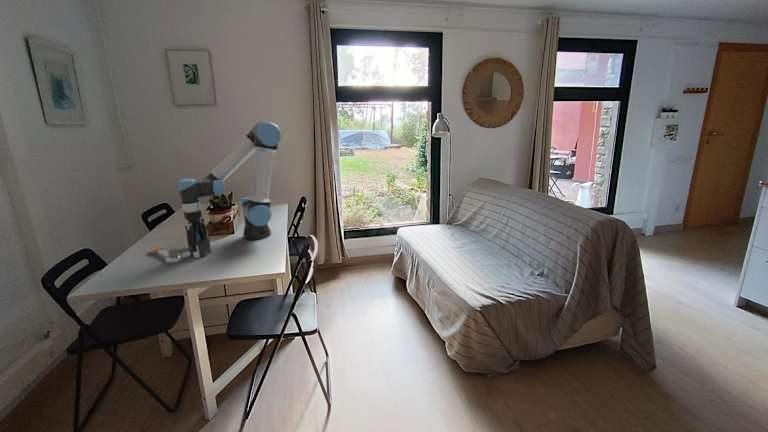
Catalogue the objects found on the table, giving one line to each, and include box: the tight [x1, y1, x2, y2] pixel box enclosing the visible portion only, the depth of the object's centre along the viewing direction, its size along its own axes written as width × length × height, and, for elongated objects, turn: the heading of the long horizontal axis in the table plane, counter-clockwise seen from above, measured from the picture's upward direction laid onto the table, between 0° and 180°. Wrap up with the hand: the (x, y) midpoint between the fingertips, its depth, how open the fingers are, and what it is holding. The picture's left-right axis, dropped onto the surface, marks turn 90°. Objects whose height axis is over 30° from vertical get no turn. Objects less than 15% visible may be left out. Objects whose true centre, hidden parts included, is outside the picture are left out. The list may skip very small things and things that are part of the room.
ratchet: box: [149, 245, 184, 265], centre depth 172 cm, size 28×7×6 cm, turn 51°
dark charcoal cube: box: [187, 237, 212, 258], centre depth 173 cm, size 7×7×8 cm
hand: (201, 253), depth 174 cm, fingers open, 7 cm apart
